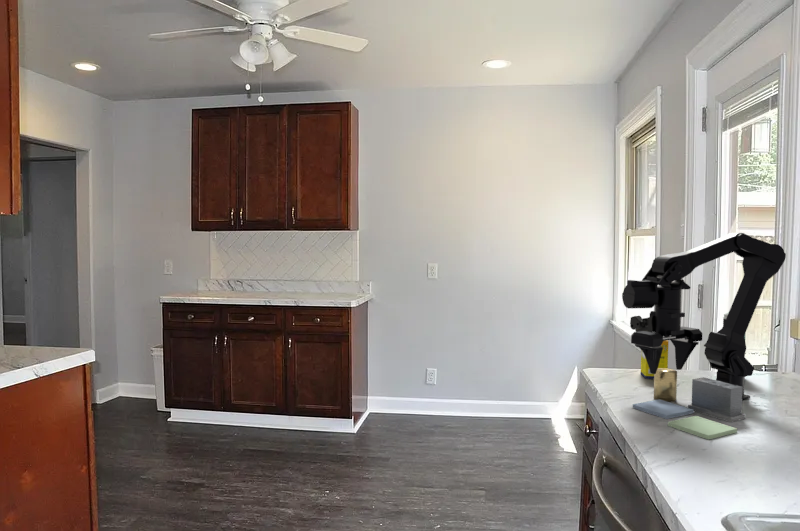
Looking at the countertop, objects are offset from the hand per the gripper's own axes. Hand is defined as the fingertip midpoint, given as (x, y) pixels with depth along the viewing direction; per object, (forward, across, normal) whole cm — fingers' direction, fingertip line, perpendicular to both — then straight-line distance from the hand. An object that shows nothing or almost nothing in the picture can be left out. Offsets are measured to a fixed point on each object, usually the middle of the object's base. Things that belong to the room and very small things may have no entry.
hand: (666, 371), depth 136 cm
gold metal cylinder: (+7, 0, 0) cm, 7 cm away
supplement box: (+7, -16, -16) cm, 24 cm away
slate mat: (+7, +9, +6) cm, 12 cm away
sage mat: (+7, +12, +18) cm, 23 cm away
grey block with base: (+7, 0, +13) cm, 15 cm away
